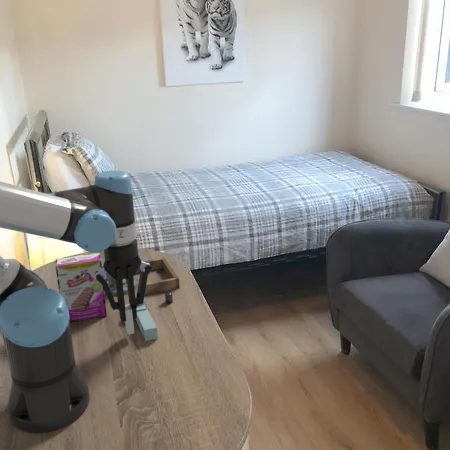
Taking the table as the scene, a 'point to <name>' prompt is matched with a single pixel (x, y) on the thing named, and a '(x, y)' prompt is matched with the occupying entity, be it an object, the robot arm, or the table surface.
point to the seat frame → (163, 284)
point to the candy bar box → (81, 286)
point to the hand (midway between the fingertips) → (130, 331)
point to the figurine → (112, 284)
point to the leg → (146, 322)
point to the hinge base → (167, 298)
